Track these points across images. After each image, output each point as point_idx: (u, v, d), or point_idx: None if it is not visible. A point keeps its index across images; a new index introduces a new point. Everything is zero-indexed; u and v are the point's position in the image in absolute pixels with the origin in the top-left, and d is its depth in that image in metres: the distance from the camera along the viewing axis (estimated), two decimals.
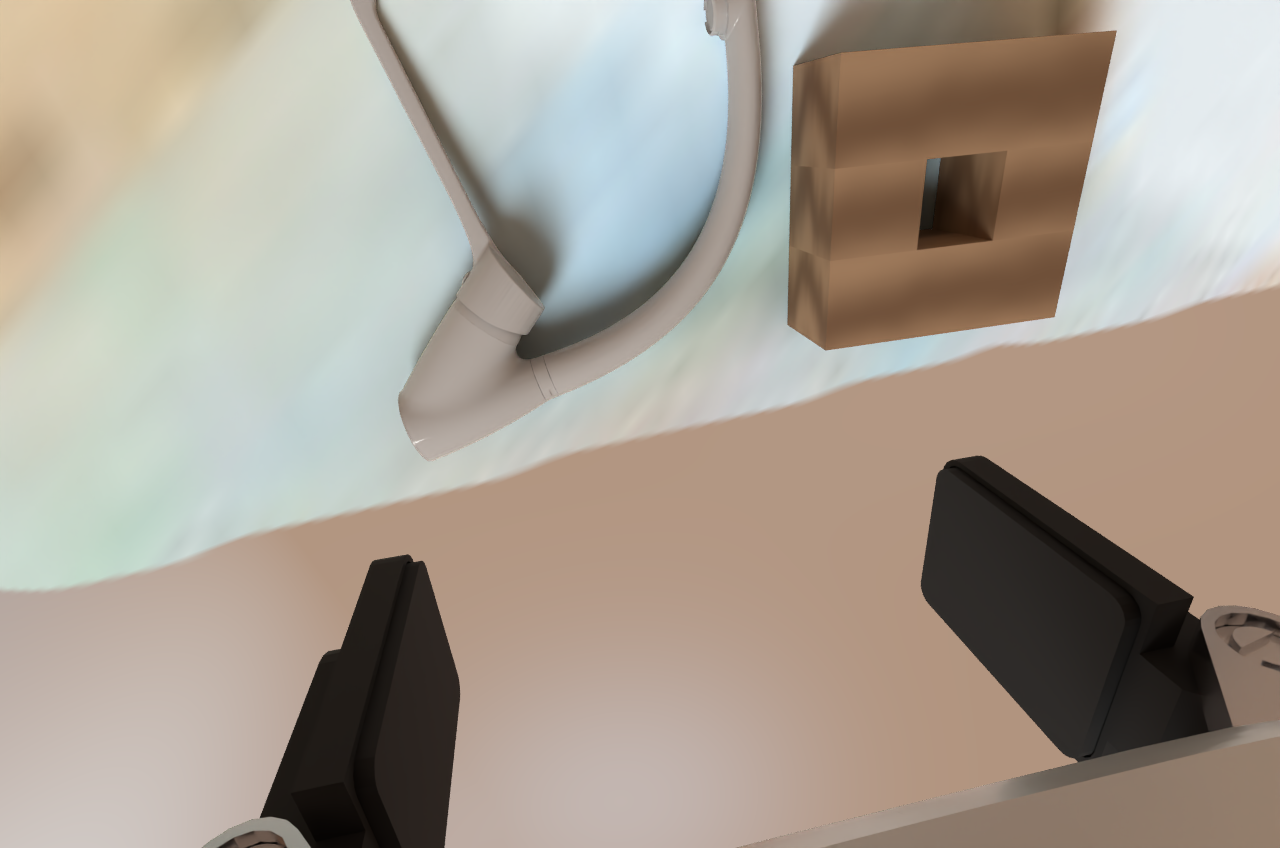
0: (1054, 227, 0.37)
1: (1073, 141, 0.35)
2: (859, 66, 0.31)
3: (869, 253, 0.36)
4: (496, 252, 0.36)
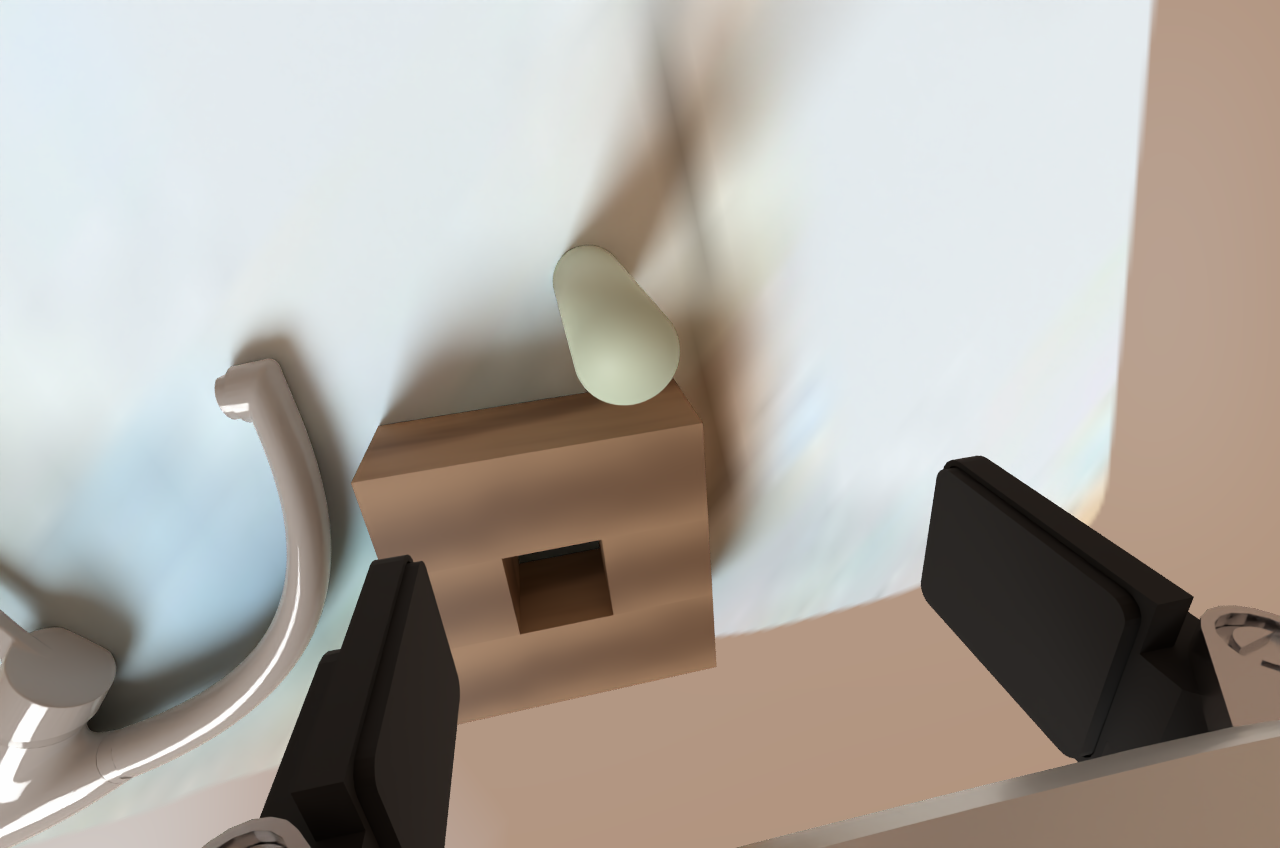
0: (687, 595, 0.33)
1: (683, 521, 0.31)
2: (381, 492, 0.27)
3: (460, 644, 0.31)
4: (23, 651, 0.31)
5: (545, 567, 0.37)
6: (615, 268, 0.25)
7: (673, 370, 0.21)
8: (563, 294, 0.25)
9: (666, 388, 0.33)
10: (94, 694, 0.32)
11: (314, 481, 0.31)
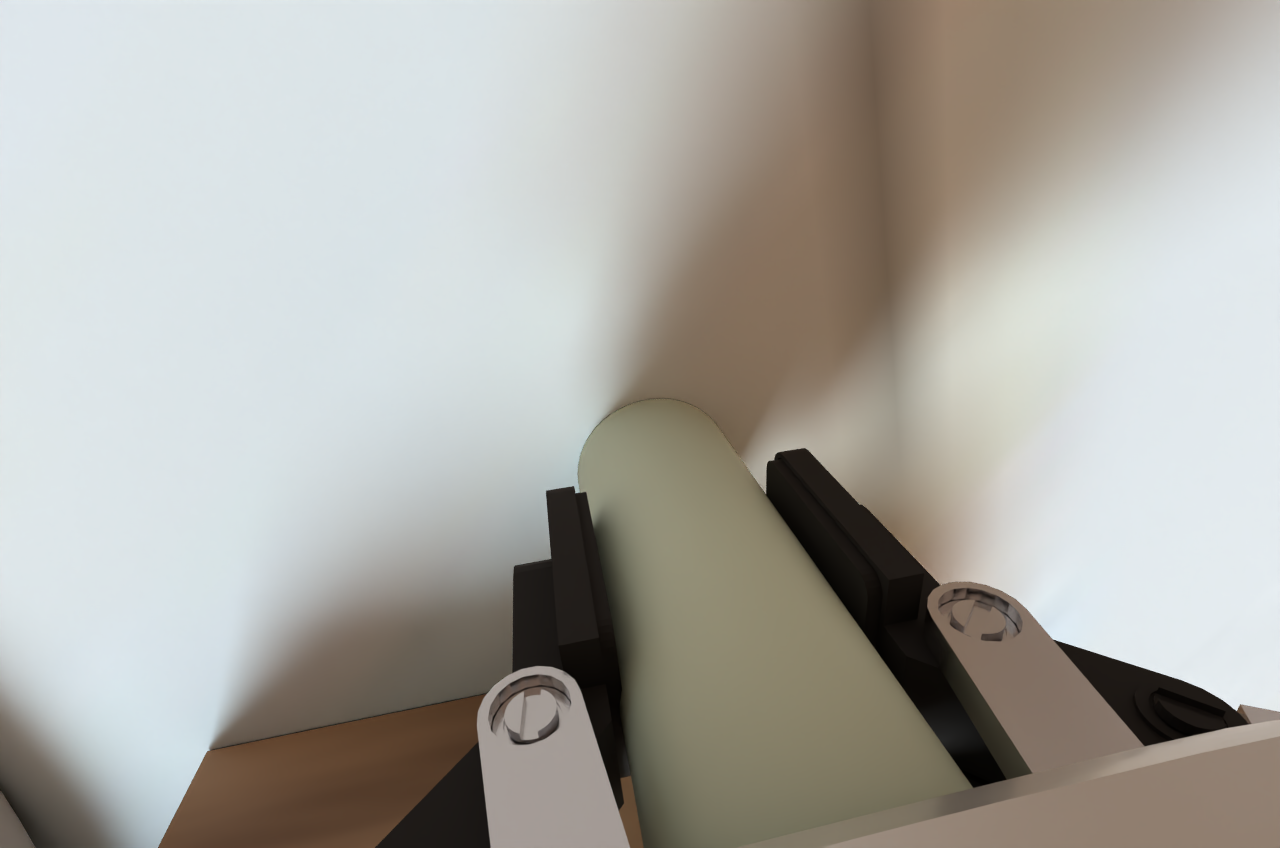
0: None
1: None
2: None
3: None
4: None
5: None
6: (782, 564, 0.08)
7: None
8: (624, 636, 0.08)
9: None
10: None
11: None
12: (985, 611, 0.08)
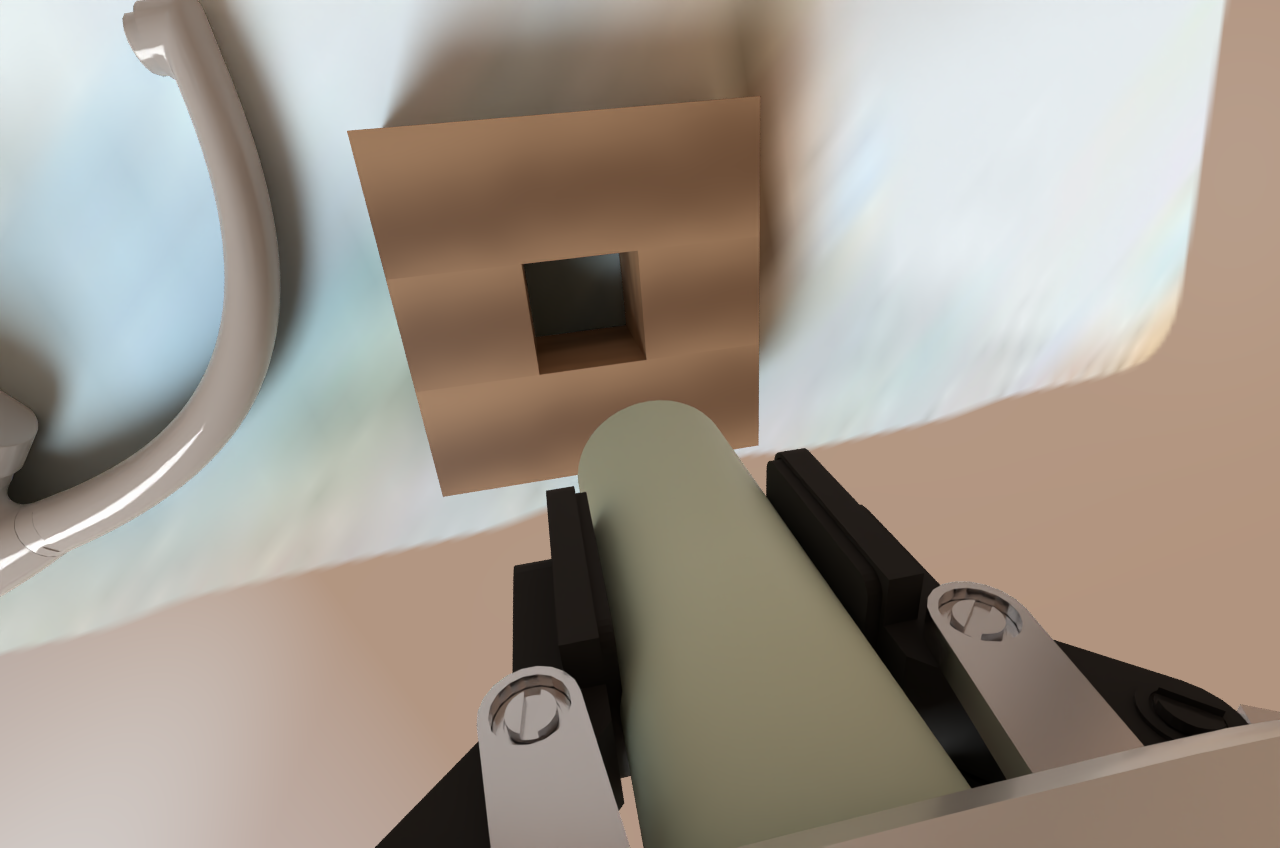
0: (731, 341, 0.29)
1: (731, 236, 0.27)
2: (382, 149, 0.23)
3: (470, 381, 0.27)
4: None
5: (565, 337, 0.32)
6: (782, 567, 0.08)
7: None
8: (625, 638, 0.08)
9: None
10: (8, 441, 0.28)
11: (252, 164, 0.26)
12: (984, 611, 0.08)
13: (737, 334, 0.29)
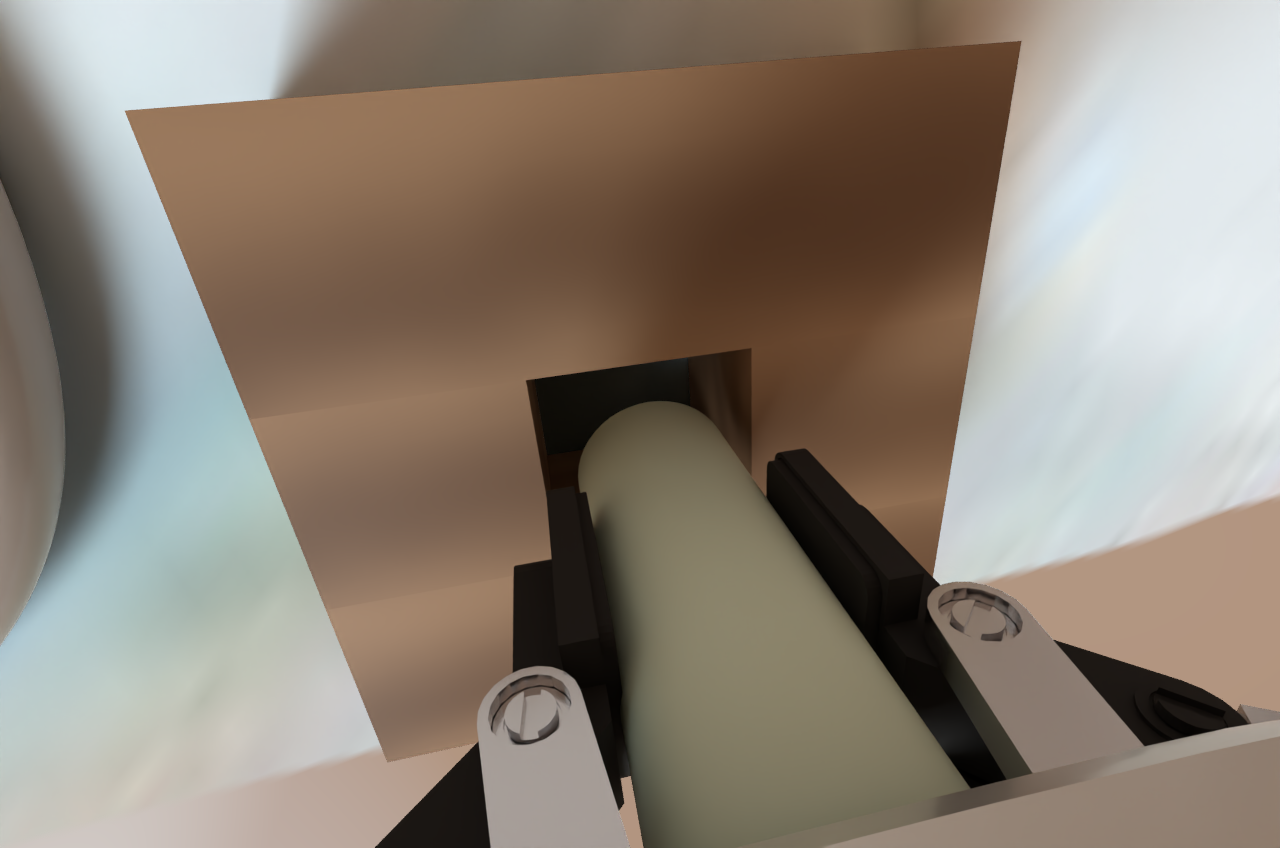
0: (900, 494, 0.16)
1: (926, 318, 0.14)
2: (214, 152, 0.10)
3: (431, 585, 0.15)
4: None
5: None
6: (782, 568, 0.08)
7: None
8: (625, 639, 0.08)
9: None
10: None
11: None
12: (984, 612, 0.08)
13: (912, 483, 0.16)
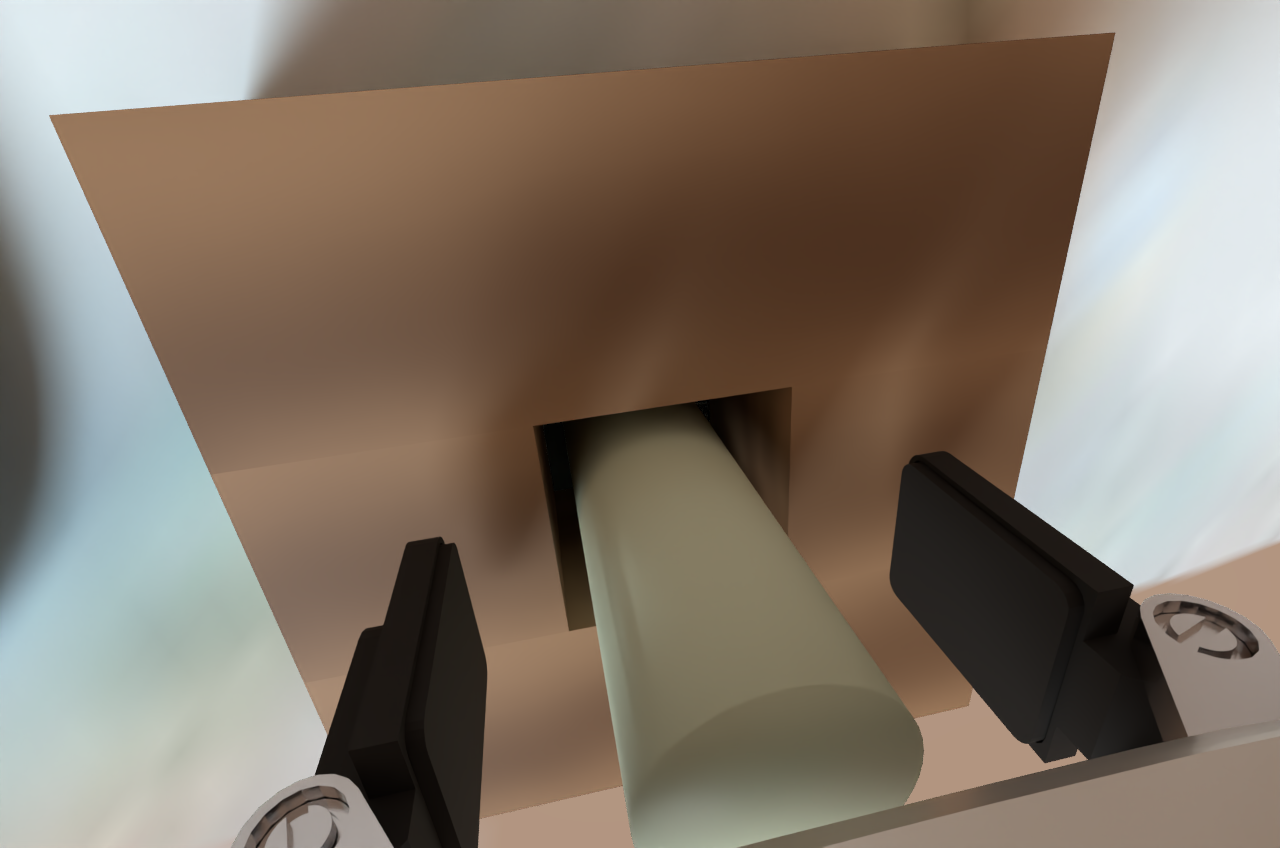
0: None
1: (990, 351, 0.12)
2: (160, 165, 0.08)
3: None
4: None
5: None
6: (696, 439, 0.12)
7: None
8: (586, 490, 0.12)
9: None
10: None
11: None
12: (1217, 634, 0.07)
13: None
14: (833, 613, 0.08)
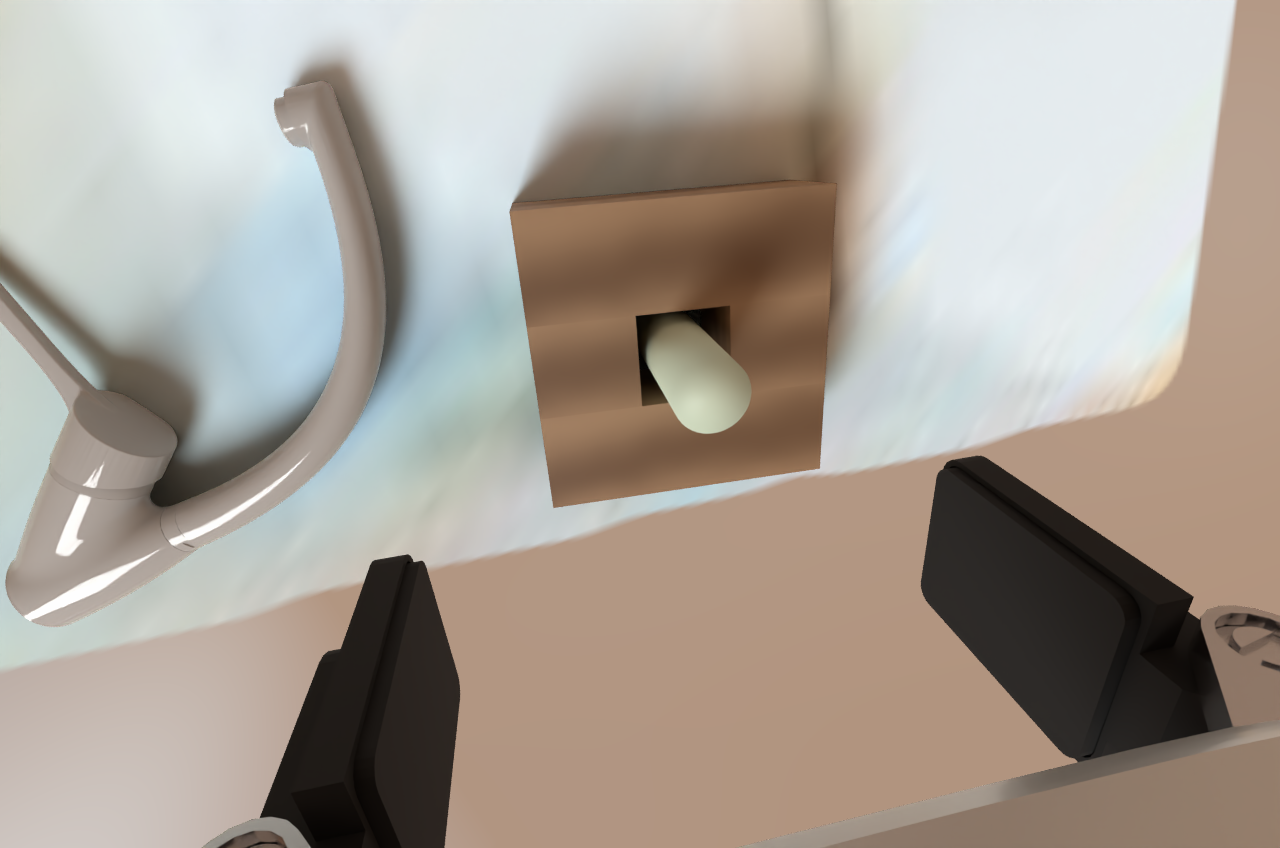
0: (801, 380, 0.34)
1: (807, 294, 0.32)
2: (535, 225, 0.28)
3: (585, 410, 0.32)
4: (90, 401, 0.32)
5: None
6: (693, 324, 0.32)
7: (745, 407, 0.27)
8: (651, 343, 0.32)
9: (786, 181, 0.34)
10: (158, 452, 0.33)
11: (370, 218, 0.31)
12: None
13: (807, 374, 0.34)
14: (729, 356, 0.28)
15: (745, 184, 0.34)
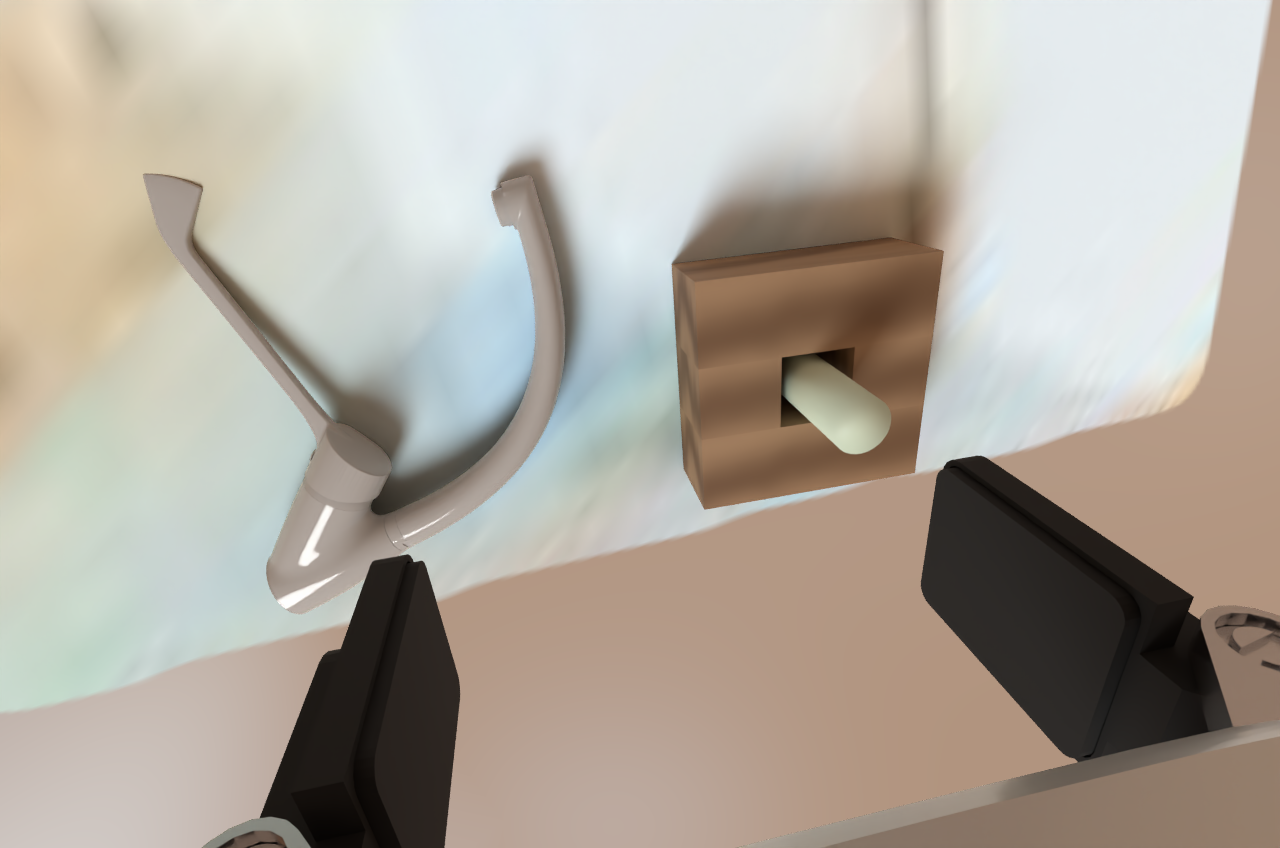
0: (905, 403, 0.42)
1: (914, 336, 0.40)
2: (712, 291, 0.36)
3: (737, 432, 0.40)
4: (335, 433, 0.39)
5: None
6: (826, 363, 0.40)
7: (885, 433, 0.35)
8: (792, 379, 0.40)
9: (891, 241, 0.42)
10: (384, 471, 0.41)
11: (559, 280, 0.38)
12: None
13: (910, 398, 0.42)
14: None
15: (857, 243, 0.42)
